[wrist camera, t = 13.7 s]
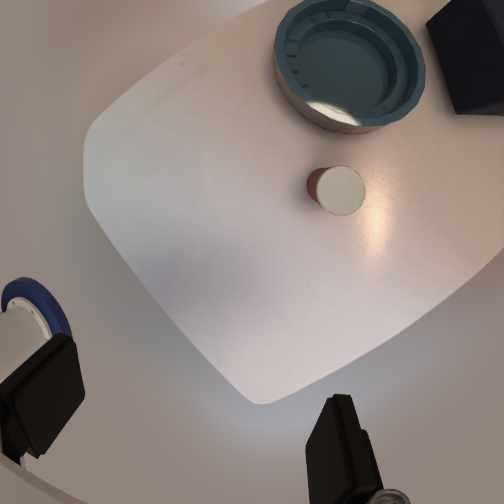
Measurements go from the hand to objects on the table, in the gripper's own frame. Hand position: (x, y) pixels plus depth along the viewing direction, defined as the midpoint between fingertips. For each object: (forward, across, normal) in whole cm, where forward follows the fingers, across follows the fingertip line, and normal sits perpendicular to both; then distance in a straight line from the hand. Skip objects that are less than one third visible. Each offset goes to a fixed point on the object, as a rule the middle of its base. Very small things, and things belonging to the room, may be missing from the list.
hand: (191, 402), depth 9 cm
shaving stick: (+25, -7, -8) cm, 28 cm away
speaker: (+25, -30, -30) cm, 49 cm away
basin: (+25, -7, -22) cm, 34 cm away
